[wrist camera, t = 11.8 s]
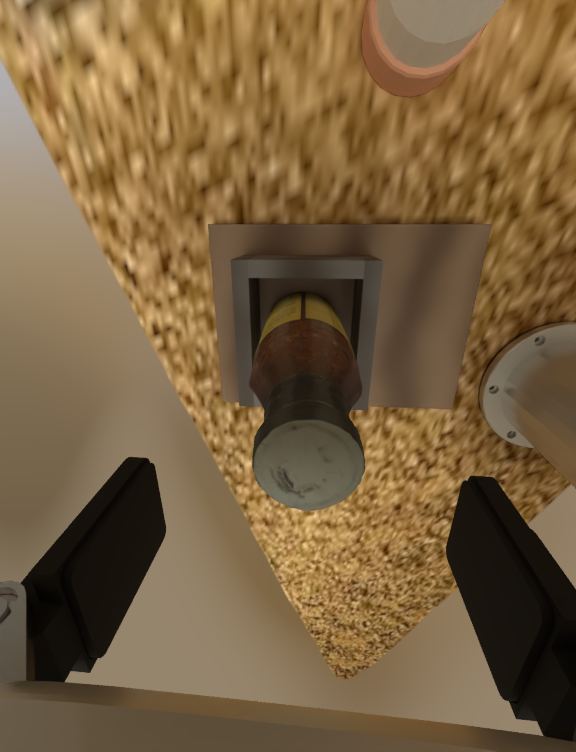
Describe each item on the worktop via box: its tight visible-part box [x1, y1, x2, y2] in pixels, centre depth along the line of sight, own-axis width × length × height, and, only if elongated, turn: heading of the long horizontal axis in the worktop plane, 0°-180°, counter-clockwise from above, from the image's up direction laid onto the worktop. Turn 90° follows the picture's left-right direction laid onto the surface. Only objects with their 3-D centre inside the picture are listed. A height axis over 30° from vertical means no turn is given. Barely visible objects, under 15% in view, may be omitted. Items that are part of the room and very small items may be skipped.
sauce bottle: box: [249, 292, 365, 511], centre depth 21 cm, size 7×6×20 cm
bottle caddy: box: [208, 224, 492, 410], centre depth 28 cm, size 22×16×6 cm
